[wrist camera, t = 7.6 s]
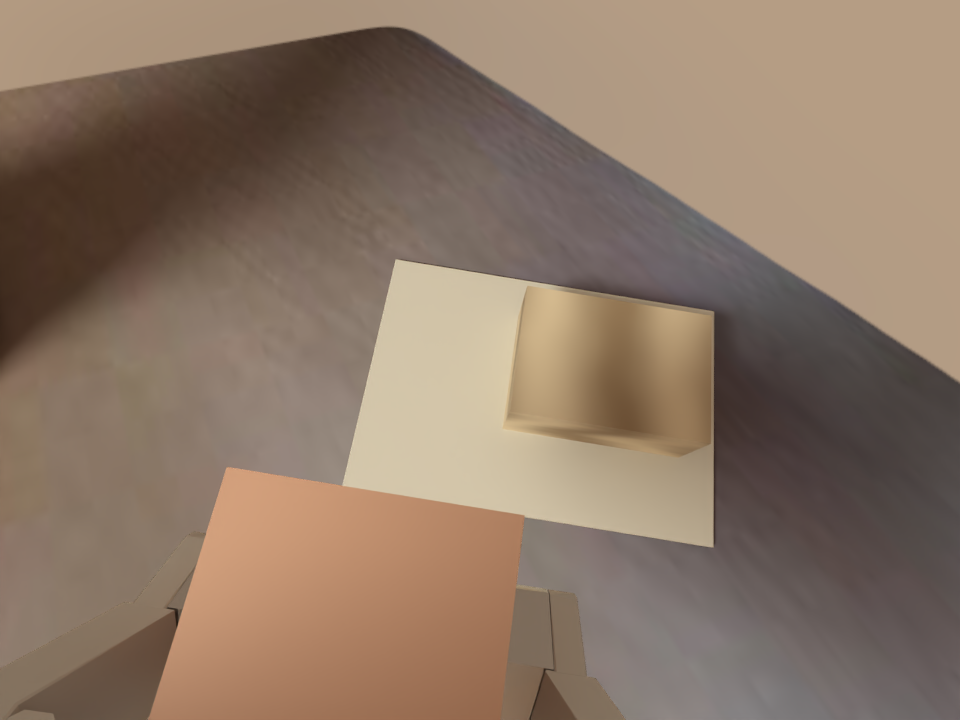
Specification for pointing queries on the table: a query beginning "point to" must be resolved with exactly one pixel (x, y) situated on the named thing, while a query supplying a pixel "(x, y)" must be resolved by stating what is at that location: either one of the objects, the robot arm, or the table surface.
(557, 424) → the plinth
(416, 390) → the mat
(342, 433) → the table surface
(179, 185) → the table surface
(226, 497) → the pillar
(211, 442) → the table surface
